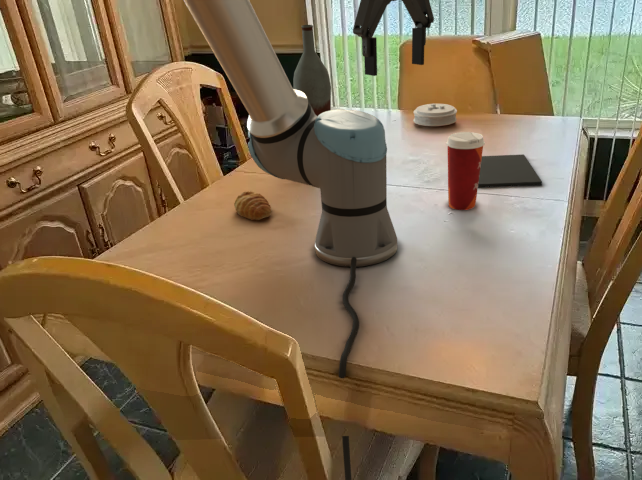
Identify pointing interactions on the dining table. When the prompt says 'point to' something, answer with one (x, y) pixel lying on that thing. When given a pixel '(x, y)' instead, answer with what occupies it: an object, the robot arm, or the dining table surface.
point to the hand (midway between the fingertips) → (395, 69)
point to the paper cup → (464, 168)
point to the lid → (435, 115)
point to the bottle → (312, 75)
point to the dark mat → (507, 171)
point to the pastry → (252, 206)
